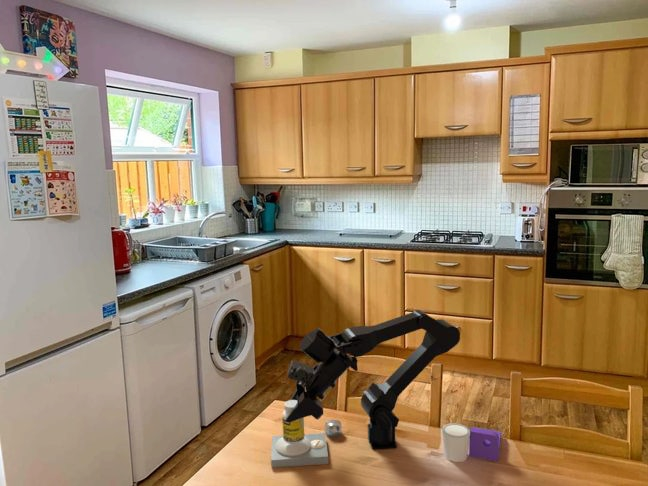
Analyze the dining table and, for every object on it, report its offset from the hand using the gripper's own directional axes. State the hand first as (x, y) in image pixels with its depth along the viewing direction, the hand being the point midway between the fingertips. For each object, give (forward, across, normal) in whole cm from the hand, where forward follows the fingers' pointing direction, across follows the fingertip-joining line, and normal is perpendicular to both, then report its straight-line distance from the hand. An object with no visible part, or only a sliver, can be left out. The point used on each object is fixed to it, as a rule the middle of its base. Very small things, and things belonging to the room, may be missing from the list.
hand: (287, 415), depth 134 cm
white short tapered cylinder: (-21, +6, +38) cm, 44 cm away
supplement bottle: (+4, 0, +6) cm, 7 cm away
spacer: (-1, -8, +16) cm, 18 cm away
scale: (+6, 0, +9) cm, 11 cm away
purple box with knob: (-28, +2, +44) cm, 52 cm away
